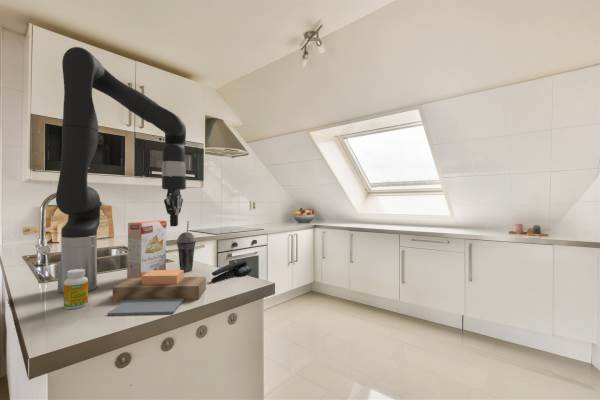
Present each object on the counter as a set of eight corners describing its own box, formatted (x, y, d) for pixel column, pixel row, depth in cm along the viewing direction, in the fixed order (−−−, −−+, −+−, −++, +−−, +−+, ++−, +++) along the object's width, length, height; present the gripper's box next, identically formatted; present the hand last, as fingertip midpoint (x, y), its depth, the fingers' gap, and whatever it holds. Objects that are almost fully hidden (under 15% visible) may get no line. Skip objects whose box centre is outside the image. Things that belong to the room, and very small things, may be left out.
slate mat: (107, 315, 76) (107, 313, 76) (126, 301, 86) (126, 299, 86) (173, 313, 78) (173, 311, 78) (184, 300, 88) (184, 298, 88)
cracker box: (141, 283, 104) (141, 223, 104) (126, 282, 105) (126, 222, 105) (167, 273, 118) (167, 220, 117) (153, 272, 119) (153, 219, 119)
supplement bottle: (68, 311, 79) (68, 274, 79) (60, 306, 82) (60, 271, 82) (91, 304, 84) (91, 269, 83) (82, 301, 86) (82, 267, 86)
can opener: (241, 271, 123) (241, 257, 123) (253, 273, 119) (253, 259, 119) (205, 281, 109) (205, 265, 109) (218, 284, 105) (218, 268, 105)
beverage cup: (172, 272, 119) (173, 221, 119) (182, 268, 127) (183, 220, 126) (189, 273, 118) (190, 222, 118) (199, 269, 125) (199, 220, 125)
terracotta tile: (141, 284, 90) (141, 276, 90) (151, 278, 97) (151, 270, 97) (176, 283, 91) (176, 275, 91) (183, 277, 98) (183, 269, 98)
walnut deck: (112, 301, 87) (112, 287, 86) (128, 290, 96) (128, 277, 96) (198, 299, 89) (198, 285, 89) (205, 289, 99) (206, 276, 99)
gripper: (169, 176, 109) (169, 224, 110) (155, 174, 96) (155, 228, 96) (190, 176, 110) (190, 224, 110) (179, 174, 97) (179, 228, 97)
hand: (174, 226), depth 103 cm, fingers closed
